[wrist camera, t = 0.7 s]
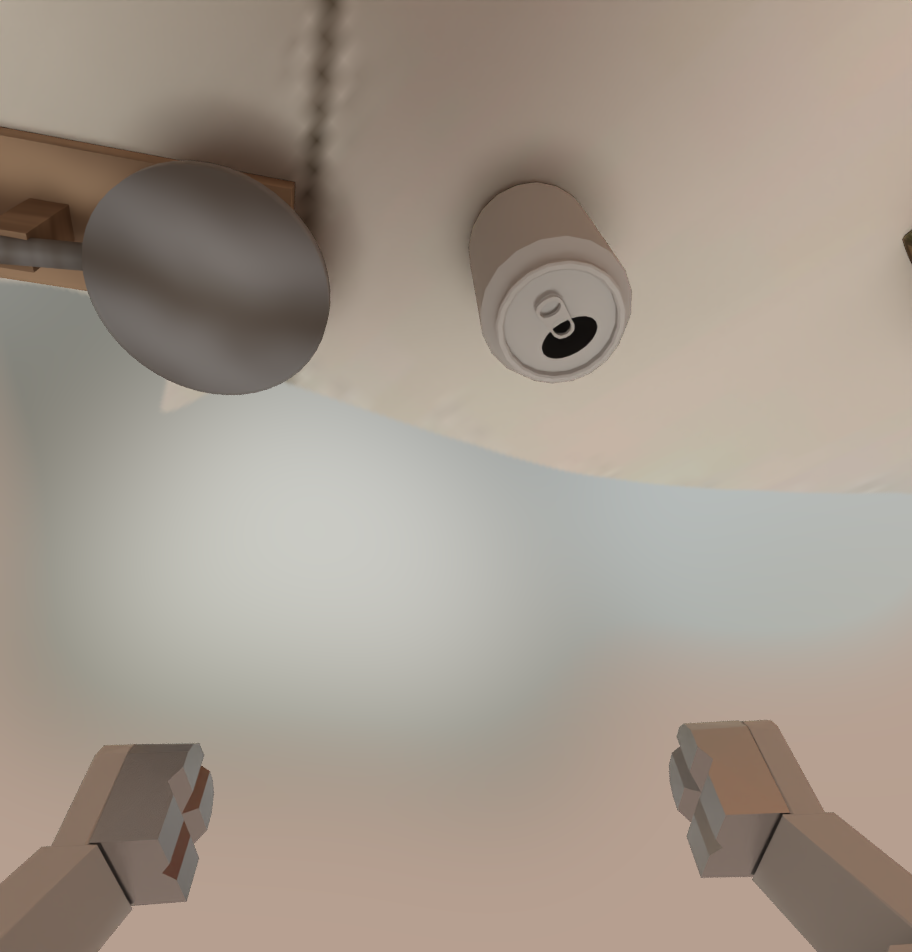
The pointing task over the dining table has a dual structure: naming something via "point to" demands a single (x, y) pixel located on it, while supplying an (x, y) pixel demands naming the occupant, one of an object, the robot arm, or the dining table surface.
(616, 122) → the dining table surface
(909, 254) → the food packaging
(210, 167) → the scale
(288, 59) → the dining table surface
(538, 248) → the can
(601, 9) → the dining table surface
